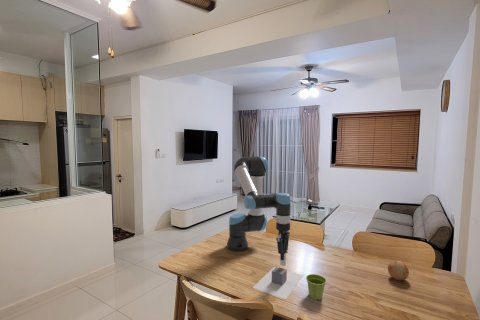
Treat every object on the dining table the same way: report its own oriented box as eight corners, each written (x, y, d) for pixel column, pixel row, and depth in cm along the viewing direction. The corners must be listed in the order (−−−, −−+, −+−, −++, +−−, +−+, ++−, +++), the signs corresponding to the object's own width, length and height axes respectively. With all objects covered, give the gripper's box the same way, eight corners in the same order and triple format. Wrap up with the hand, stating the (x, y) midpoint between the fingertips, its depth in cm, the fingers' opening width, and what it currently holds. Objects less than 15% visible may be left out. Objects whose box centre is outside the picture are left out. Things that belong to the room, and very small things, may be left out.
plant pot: (310, 288, 128) (310, 271, 127) (328, 295, 122) (329, 278, 121) (302, 297, 121) (302, 279, 120) (321, 305, 115) (321, 286, 114)
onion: (398, 285, 131) (399, 266, 130) (383, 275, 140) (383, 258, 140) (413, 282, 133) (414, 264, 133) (397, 273, 143) (397, 256, 142)
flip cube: (276, 277, 138) (271, 282, 133) (276, 266, 138) (271, 271, 133) (286, 280, 135) (282, 285, 130) (286, 269, 134) (282, 274, 129)
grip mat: (252, 288, 128) (252, 287, 128) (274, 267, 150) (274, 266, 150) (285, 300, 118) (285, 299, 118) (303, 276, 140) (303, 275, 140)
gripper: (284, 226, 128) (284, 271, 129) (294, 220, 139) (294, 262, 140) (271, 224, 132) (271, 267, 133) (281, 218, 143) (281, 258, 144)
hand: (283, 264), depth 137 cm, fingers closed
